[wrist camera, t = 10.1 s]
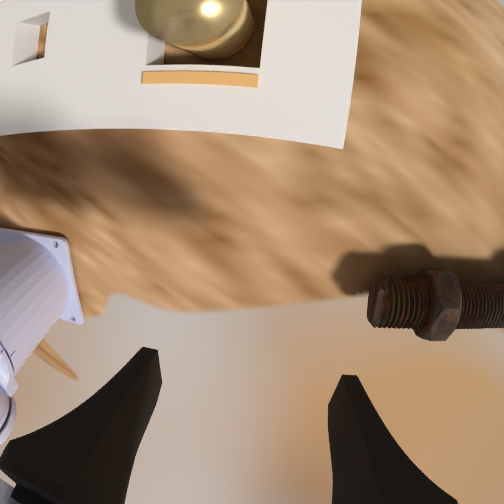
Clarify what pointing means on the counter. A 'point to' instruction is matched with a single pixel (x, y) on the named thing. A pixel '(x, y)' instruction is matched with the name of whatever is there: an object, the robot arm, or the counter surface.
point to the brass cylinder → (198, 24)
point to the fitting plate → (176, 73)
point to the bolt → (435, 304)
